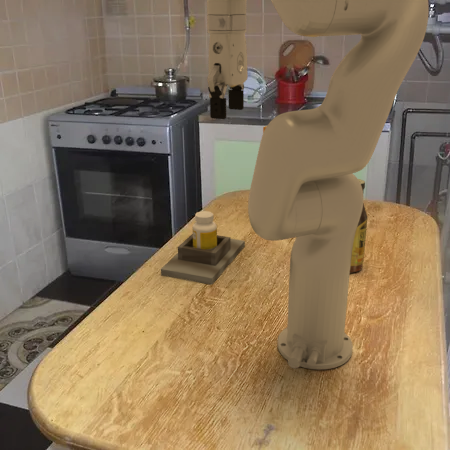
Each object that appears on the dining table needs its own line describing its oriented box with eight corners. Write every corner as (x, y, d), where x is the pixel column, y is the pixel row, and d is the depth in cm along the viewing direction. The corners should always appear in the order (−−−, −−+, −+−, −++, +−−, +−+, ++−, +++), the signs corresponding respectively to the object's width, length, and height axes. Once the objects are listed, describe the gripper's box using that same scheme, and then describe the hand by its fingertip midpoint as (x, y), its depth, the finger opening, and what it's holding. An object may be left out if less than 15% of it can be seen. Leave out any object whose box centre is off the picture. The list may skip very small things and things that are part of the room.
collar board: (212, 284, 115) (211, 265, 113) (160, 275, 119) (159, 256, 117) (244, 246, 132) (244, 229, 130) (199, 239, 136) (198, 222, 134)
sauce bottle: (363, 275, 118) (371, 187, 110) (333, 272, 119) (340, 185, 111) (362, 261, 124) (370, 177, 116) (334, 259, 125) (340, 175, 117)
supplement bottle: (221, 252, 125) (221, 212, 122) (208, 261, 121) (207, 220, 117) (202, 247, 128) (201, 208, 124) (188, 256, 124) (187, 215, 120)
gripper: (228, 27, 97) (229, 123, 104) (259, 22, 112) (258, 107, 118) (189, 27, 100) (193, 121, 106) (225, 22, 114) (226, 105, 121)
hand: (227, 113), depth 112 cm, fingers open, 9 cm apart
